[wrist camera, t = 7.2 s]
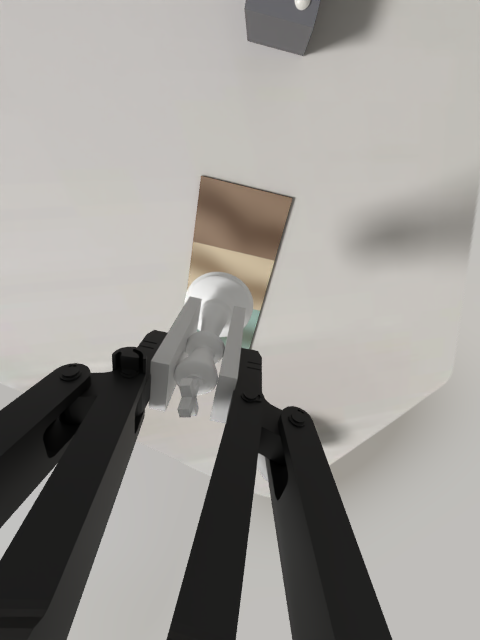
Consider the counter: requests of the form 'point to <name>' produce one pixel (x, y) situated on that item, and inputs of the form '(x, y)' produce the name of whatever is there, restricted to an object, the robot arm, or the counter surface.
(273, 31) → the die
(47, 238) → the counter surface
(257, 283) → the track
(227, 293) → the chess piece
